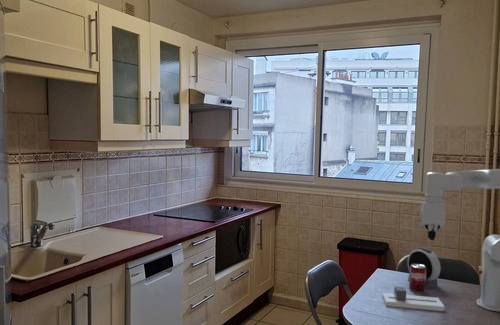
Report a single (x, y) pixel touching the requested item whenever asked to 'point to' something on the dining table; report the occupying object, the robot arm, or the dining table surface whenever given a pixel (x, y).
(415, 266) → the soda can
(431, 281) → the alarm clock
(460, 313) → the dining table surface
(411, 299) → the console
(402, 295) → the fader knob
